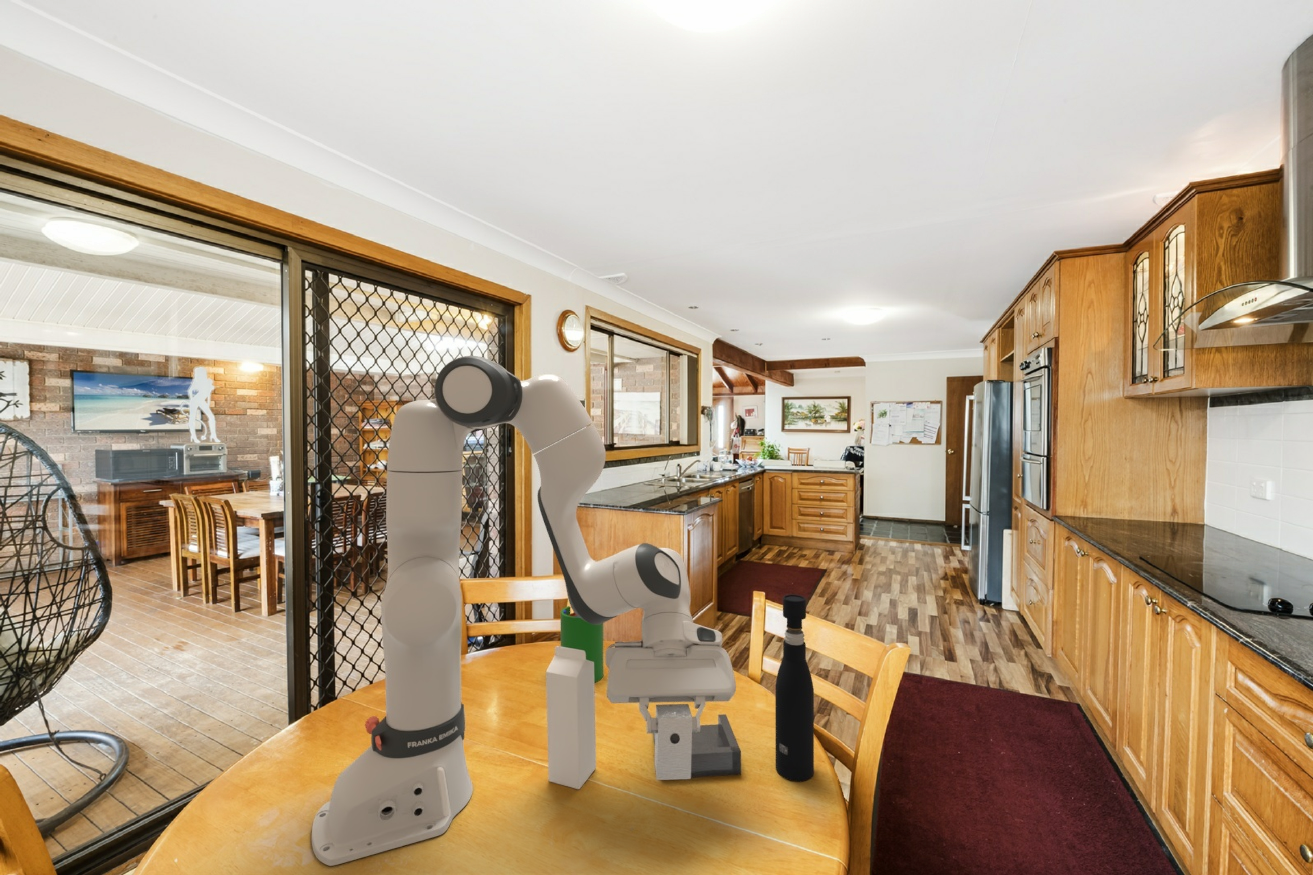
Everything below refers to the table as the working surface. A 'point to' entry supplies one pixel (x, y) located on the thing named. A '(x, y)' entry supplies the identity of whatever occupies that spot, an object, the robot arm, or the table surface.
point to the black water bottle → (794, 699)
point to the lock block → (673, 742)
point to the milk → (570, 717)
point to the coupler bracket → (715, 750)
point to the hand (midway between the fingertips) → (673, 732)
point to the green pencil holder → (583, 639)
